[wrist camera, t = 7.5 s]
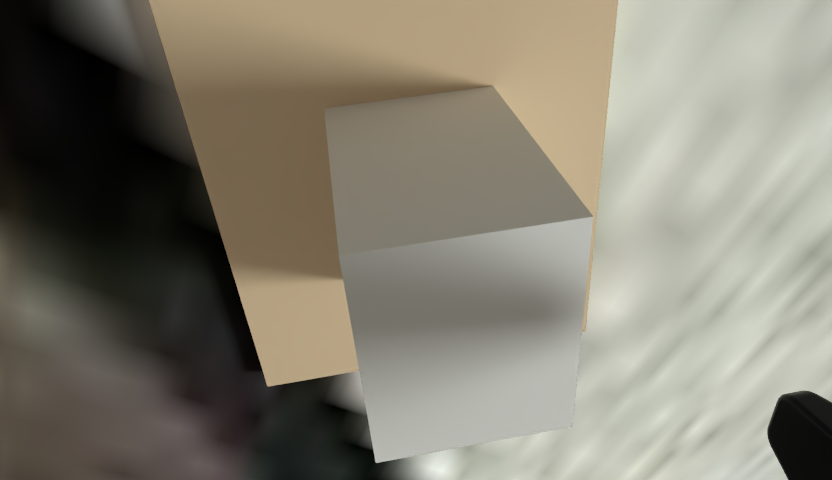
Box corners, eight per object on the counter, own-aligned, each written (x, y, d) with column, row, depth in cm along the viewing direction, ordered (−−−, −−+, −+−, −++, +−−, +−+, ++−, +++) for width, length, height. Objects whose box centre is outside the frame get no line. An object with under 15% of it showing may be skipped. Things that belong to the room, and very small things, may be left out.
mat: (615, -100, 13) (627, -97, 13) (578, 318, 20) (585, 331, 20) (142, -47, 13) (136, -42, 12) (268, 372, 19) (267, 386, 19)
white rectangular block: (493, 86, 15) (593, 216, 10) (494, 257, 17) (572, 426, 13) (323, 108, 14) (338, 256, 9) (352, 279, 17) (376, 463, 12)
